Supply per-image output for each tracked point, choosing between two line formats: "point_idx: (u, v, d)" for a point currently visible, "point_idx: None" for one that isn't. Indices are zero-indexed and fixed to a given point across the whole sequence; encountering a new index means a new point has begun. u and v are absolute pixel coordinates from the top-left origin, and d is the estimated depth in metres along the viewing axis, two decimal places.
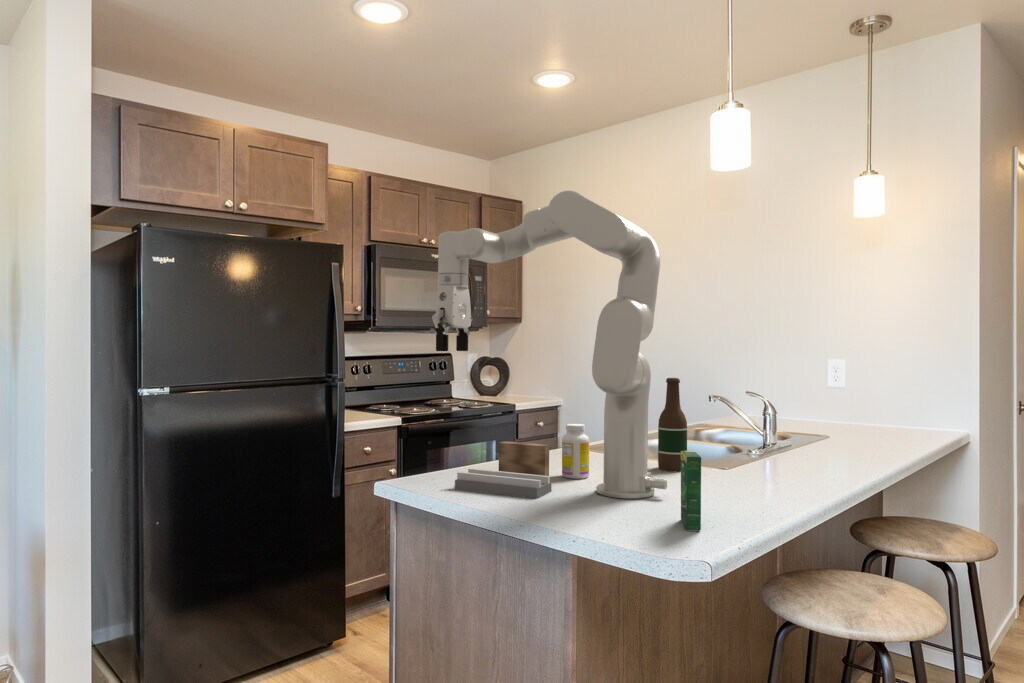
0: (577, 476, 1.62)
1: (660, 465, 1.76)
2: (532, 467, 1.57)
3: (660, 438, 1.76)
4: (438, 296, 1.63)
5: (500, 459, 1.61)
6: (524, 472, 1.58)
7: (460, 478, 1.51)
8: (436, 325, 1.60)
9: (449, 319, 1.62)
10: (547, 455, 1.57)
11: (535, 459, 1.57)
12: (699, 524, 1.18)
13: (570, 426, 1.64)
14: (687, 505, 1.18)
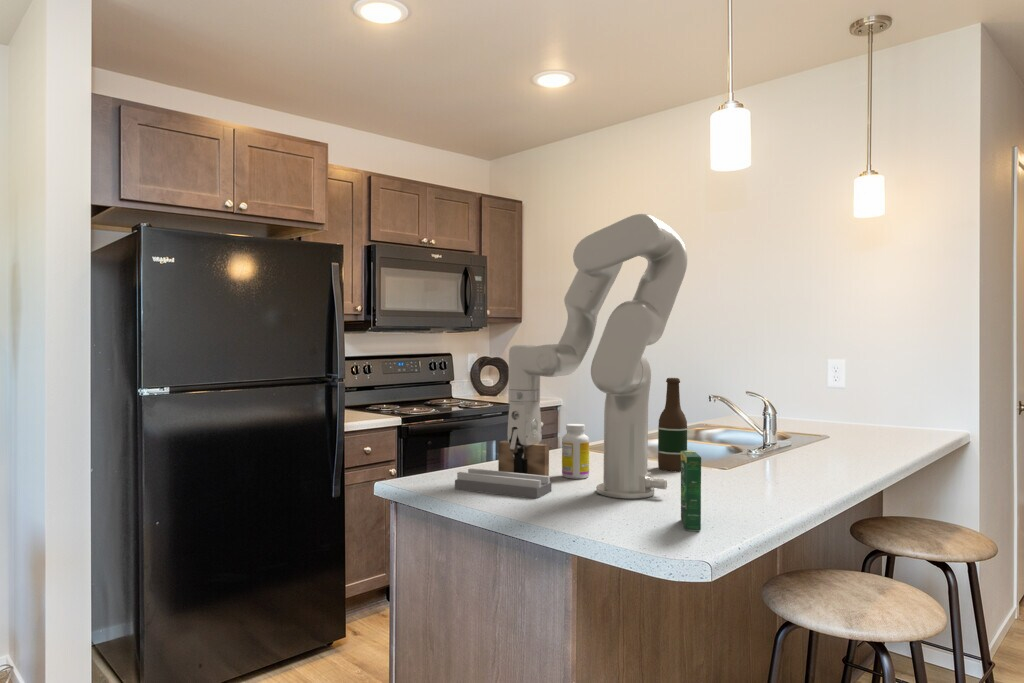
0: (577, 476, 1.62)
1: (660, 465, 1.76)
2: (532, 467, 1.57)
3: (660, 438, 1.76)
4: (510, 414, 1.56)
5: (500, 459, 1.61)
6: None
7: (460, 478, 1.51)
8: None
9: (522, 440, 1.54)
10: (547, 454, 1.57)
11: (534, 459, 1.57)
12: (699, 524, 1.18)
13: (570, 426, 1.64)
14: (687, 505, 1.18)
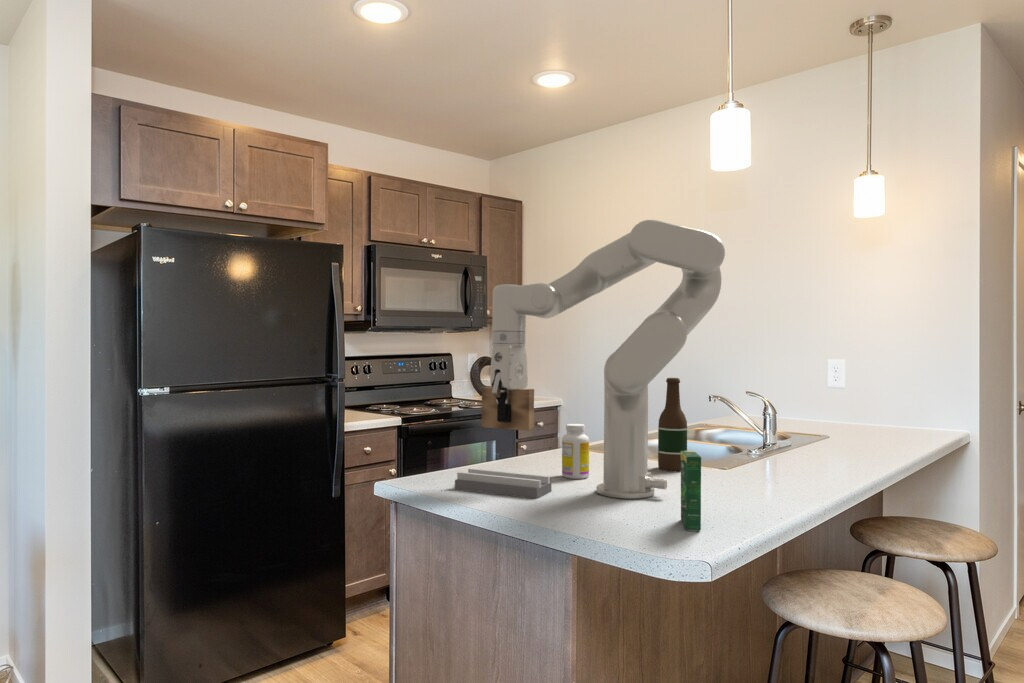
0: (577, 476, 1.62)
1: (660, 465, 1.76)
2: (516, 412, 1.49)
3: (660, 438, 1.76)
4: (493, 356, 1.48)
5: (483, 405, 1.53)
6: None
7: (460, 478, 1.51)
8: None
9: (505, 382, 1.46)
10: (531, 399, 1.49)
11: (518, 404, 1.49)
12: (699, 524, 1.18)
13: (570, 426, 1.64)
14: (687, 505, 1.18)
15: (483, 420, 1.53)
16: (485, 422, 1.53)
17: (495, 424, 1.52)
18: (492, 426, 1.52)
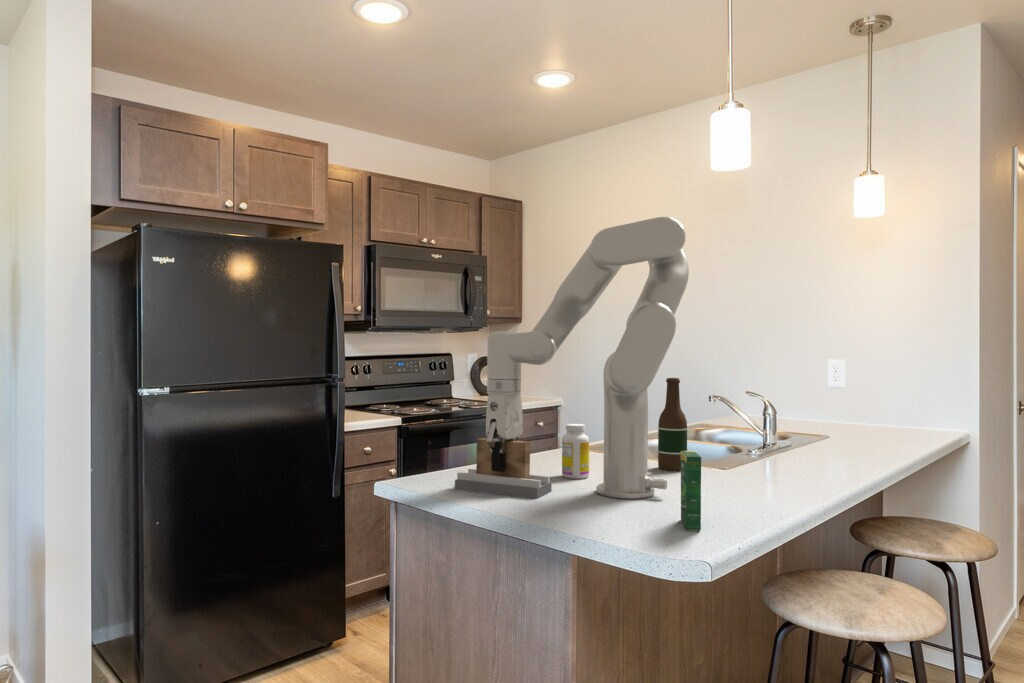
0: (577, 476, 1.62)
1: (660, 465, 1.76)
2: (511, 465, 1.47)
3: (660, 438, 1.76)
4: (488, 405, 1.46)
5: (478, 457, 1.51)
6: None
7: (460, 478, 1.51)
8: None
9: (501, 432, 1.44)
10: (527, 452, 1.47)
11: (514, 457, 1.47)
12: (699, 524, 1.18)
13: (570, 426, 1.64)
14: (687, 505, 1.18)
15: (478, 473, 1.51)
16: None
17: None
18: None
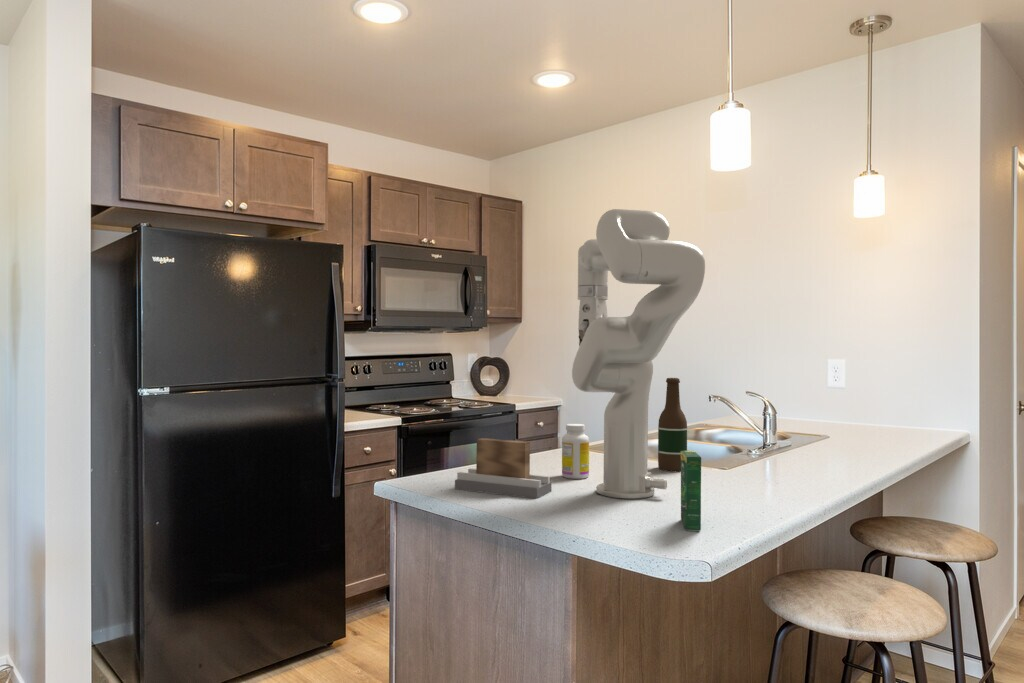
0: (577, 476, 1.62)
1: (660, 465, 1.76)
2: (511, 465, 1.47)
3: (660, 438, 1.76)
4: (581, 308, 1.67)
5: (478, 457, 1.51)
6: (503, 471, 1.48)
7: (460, 478, 1.51)
8: (582, 336, 1.63)
9: None
10: (527, 452, 1.47)
11: (514, 457, 1.47)
12: (699, 524, 1.18)
13: (570, 426, 1.64)
14: (687, 505, 1.18)
15: (478, 473, 1.51)
16: None
17: None
18: None
